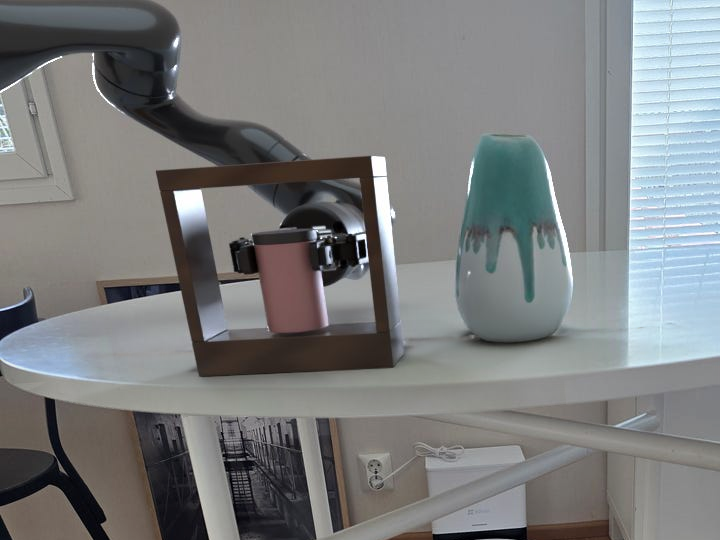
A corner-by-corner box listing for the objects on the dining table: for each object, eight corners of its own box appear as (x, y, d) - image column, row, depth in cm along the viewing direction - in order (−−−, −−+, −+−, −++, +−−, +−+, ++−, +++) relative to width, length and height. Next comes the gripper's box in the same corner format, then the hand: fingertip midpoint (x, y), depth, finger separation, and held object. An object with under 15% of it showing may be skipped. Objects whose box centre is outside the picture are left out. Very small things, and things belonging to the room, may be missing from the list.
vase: (593, 338, 83) (594, 123, 74) (483, 353, 80) (471, 130, 71) (542, 323, 93) (538, 132, 84) (442, 336, 89) (427, 138, 81)
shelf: (198, 376, 78) (154, 170, 70) (222, 362, 83) (184, 170, 75) (393, 367, 76) (371, 155, 68) (404, 353, 82) (384, 156, 74)
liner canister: (260, 334, 76) (242, 235, 72) (277, 324, 81) (261, 231, 77) (321, 331, 76) (307, 231, 72) (335, 321, 80) (322, 227, 77)
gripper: (249, 206, 87) (188, 215, 72) (389, 197, 85) (356, 204, 71) (262, 286, 90) (207, 310, 75) (396, 278, 89) (367, 301, 74)
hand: (279, 259), depth 73 cm, fingers closed on liner canister, 5 cm apart
